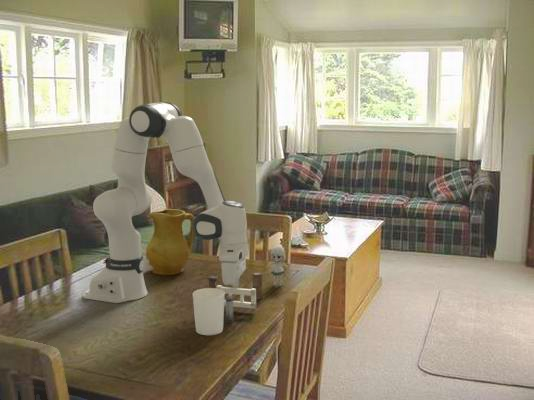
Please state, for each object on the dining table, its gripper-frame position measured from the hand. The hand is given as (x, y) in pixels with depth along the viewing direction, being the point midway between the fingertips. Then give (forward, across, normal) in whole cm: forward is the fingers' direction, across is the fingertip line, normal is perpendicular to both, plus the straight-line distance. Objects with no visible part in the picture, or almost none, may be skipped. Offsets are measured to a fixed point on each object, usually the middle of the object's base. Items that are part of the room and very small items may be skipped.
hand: (235, 290), depth 218 cm
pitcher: (+6, -40, -36) cm, 54 cm away
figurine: (+7, -29, +10) cm, 31 cm away
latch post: (+6, +12, 0) cm, 14 cm away
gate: (+5, +2, 0) cm, 5 cm away
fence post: (+6, -12, +5) cm, 14 cm away
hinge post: (+6, 0, -8) cm, 10 cm away
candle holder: (+7, +21, -4) cm, 22 cm away
